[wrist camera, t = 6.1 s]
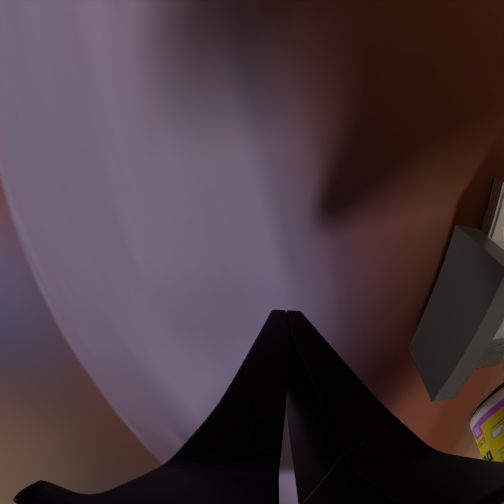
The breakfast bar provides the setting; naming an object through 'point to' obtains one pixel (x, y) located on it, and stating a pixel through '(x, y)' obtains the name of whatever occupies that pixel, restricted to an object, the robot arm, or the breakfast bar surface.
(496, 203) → the track
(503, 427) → the supplement bottle
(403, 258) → the breakfast bar surface
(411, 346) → the thick grey end plate
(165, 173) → the breakfast bar surface
